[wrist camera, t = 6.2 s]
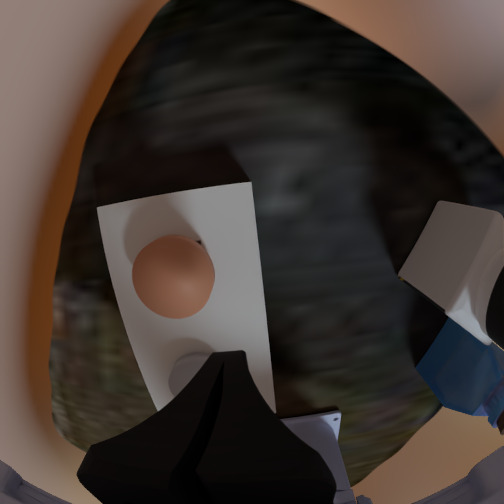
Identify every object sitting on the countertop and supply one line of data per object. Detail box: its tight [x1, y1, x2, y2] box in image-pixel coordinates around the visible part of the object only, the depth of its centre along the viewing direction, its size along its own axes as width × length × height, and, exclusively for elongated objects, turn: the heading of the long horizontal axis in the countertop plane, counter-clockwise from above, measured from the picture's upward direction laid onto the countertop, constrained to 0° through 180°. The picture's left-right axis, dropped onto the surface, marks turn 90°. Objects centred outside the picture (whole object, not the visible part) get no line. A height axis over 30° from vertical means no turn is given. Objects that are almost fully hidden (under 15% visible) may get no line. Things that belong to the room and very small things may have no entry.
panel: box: [97, 182, 276, 413], centre depth 19 cm, size 17×10×3 cm, turn 7°
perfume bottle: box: [415, 317, 504, 435], centre depth 16 cm, size 6×6×12 cm
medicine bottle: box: [398, 201, 504, 349], centre depth 13 cm, size 7×7×12 cm
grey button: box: [168, 353, 211, 397], centre depth 19 cm, size 4×4×4 cm
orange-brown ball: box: [132, 235, 215, 319], centre depth 16 cm, size 4×4×4 cm
